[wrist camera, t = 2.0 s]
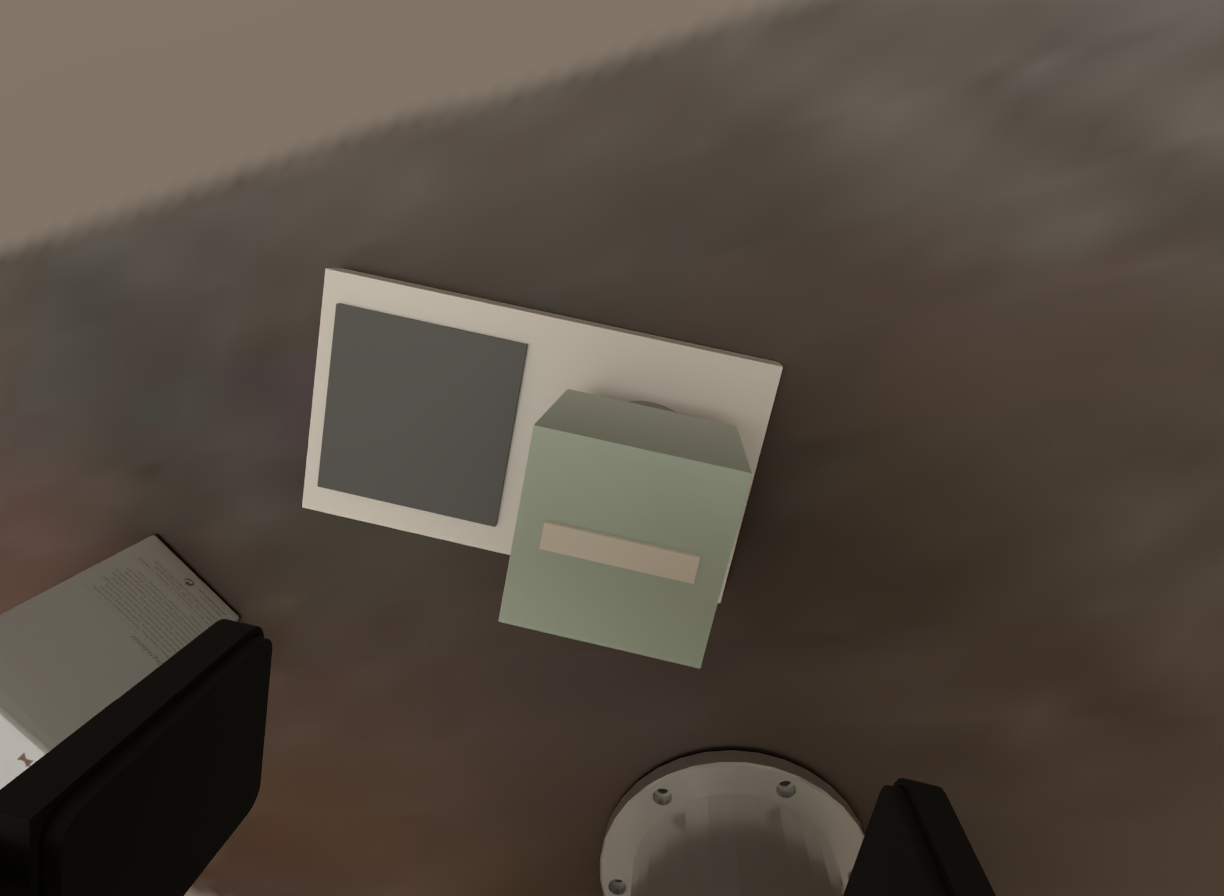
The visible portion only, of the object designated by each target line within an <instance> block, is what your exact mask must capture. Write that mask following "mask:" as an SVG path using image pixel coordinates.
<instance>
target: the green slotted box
mask: <svg viewBox="0 0 1224 896" xmlns="http://www.w3.org/2000/svg"><path fill="white" fill-rule="evenodd" d="M751 475H752V472H751V469H750V466H749V463H748V460H747V457H746V454H745V450H744V447H743V444H742V441H741V438H740V435H739V432H738V429H737V426H735V425H731V424H726V423H722V422H717V421H712V420H708V419H703V418H699V417H694V416H690V415H685V414H681V413H676V412H671V411H667V410H662V409H658V408H653V407H649V406H644V405H640V404H635V403H630V402H626V401H621V400H617V399H612V398H608V397H603V396H598V395H594V394H589V393H585V392H580V391H576V390H571V389H567V390H566V391H565V392H564V393H563V394H562V395H561V396H560V398H559V399H558V400H557V401H556V402H555V403H554V404H553V405H552V406H551V407H550V408H549V409H548V410H547V411H546V412H545V413H544V415H543V416H542V417H541V418H540V419H539V420H538V421H537V422H536V423H535V424H534V426H533V432H532V437H531V443H530V448H529V454H528V460H527V465H526V471H525V476H524V482H523V487H522V493H521V498H520V504H519V509H518V515H517V521H516V526H515V532H514V537H513V543H512V548H511V554H510V559H509V565H508V571H507V576H506V582H505V587H504V593H503V598H502V604H501V609H500V615H499V620H498V622H503V623H507V624H511V625H516V626H520V627H524V628H528V629H533V630H537V631H541V632H545V633H550V634H554V635H558V636H563V637H567V638H571V639H575V640H580V641H584V642H588V643H593V644H597V645H601V646H605V647H610V648H614V649H618V650H622V651H627V652H631V653H635V654H640V655H644V656H648V657H652V658H657V659H661V660H665V661H669V662H674V663H678V664H682V665H687V666H691V667H695V668H699V669H700V668H701V664H702V660H703V656H704V653H705V649H706V645H707V641H708V638H709V634H710V630H711V626H712V622H713V619H714V615H715V611H716V607H717V603H718V600H719V596H720V592H721V588H722V585H723V581H724V577H725V573H726V569H727V566H728V562H729V558H730V554H731V551H732V547H733V543H734V539H735V535H736V532H737V528H738V524H739V520H740V517H741V513H742V509H743V505H744V501H745V498H746V494H747V490H748V486H749V482H750V479H751Z"/></svg>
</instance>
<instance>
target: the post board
mask: <svg viewBox="0 0 1224 896" xmlns="http://www.w3.org/2000/svg"><path fill="white" fill-rule="evenodd" d="M782 369H783V366H782V365H781V364H780V363H779V362H776V361H772V360H767V359H762V358H758V357H753V356H748V355H744V354H739V353H734V352H730V351H725V350H720V349H716V348H711V347H707V346H702V345H697V344H693V343H688V342H683V341H679V340H674V339H669V338H665V337H660V336H655V335H651V334H646V333H641V332H637V331H632V330H627V329H623V328H618V327H614V326H609V325H604V324H600V323H595V322H590V321H586V320H581V319H576V318H572V317H567V316H562V315H558V314H553V313H548V312H544V311H539V310H534V309H530V308H525V307H520V306H516V305H511V304H507V303H502V302H497V301H493V300H488V299H483V298H479V297H474V296H469V295H465V294H460V293H455V292H451V291H446V290H441V289H437V288H432V287H427V286H423V285H418V284H414V283H409V282H404V281H400V280H395V279H390V278H386V277H381V276H376V275H372V274H367V273H362V272H358V271H353V270H348V269H344V268H328V269H326V270H325V280H324V290H323V301H322V311H321V321H320V331H319V341H318V351H317V361H316V371H315V382H314V392H313V402H312V412H311V422H310V432H309V442H308V452H307V462H306V473H305V483H304V493H303V503H302V507H303V508H308V509H312V510H316V511H321V512H325V513H329V514H334V515H338V516H342V517H347V518H351V519H355V520H360V521H364V522H369V523H373V524H377V525H382V526H386V527H390V528H395V529H399V530H403V531H408V532H412V533H416V534H421V535H425V536H429V537H434V538H438V539H442V540H447V541H451V542H456V543H460V544H464V545H469V546H473V547H477V548H482V549H486V550H490V551H495V552H499V553H503V554H508V555H510V554H511V548H512V543H513V537H514V532H515V526H516V521H517V515H518V509H519V504H520V498H521V493H522V487H523V482H524V476H525V471H526V465H527V460H528V454H529V448H530V443H531V437H532V432H533V426H534V424H535V423H536V422H537V421H538V420H539V419H540V418H541V417H542V416H543V415H544V413H545V412H546V411H547V410H548V409H549V408H550V407H551V406H552V405H553V404H554V403H555V402H556V401H557V400H558V399H559V398H560V396H561V395H562V394H563V393H564V392H565V391H566V390H567V389H571V390H576V391H580V392H585V393H589V394H594V395H598V396H603V397H608V398H612V399H617V400H621V401H626V402H630V403H635V404H640V405H644V406H649V407H653V408H658V409H662V410H667V411H671V412H676V413H681V414H685V415H690V416H694V417H699V418H703V419H708V420H712V421H717V422H722V423H726V424H731V425H735V426H737V429H738V432H739V435H740V438H741V441H742V444H743V447H744V450H745V454H746V457H747V460H748V463H749V466H750V469H751V472H752V475H751V479H750V482H749V486H748V490H747V494H746V498H745V501H744V505H743V509H742V513H741V517H740V520H739V524H738V528H737V532H736V535H735V539H734V543H733V547H732V551H731V554H730V558H729V562H728V566H727V569H726V573H725V577H724V581H723V585H722V588H721V592H720V596H719V600H718V603H721V599H722V595H723V591H724V587H725V584H726V580H727V576H728V572H729V569H730V565H731V561H732V557H733V554H734V550H735V546H736V542H737V538H738V535H739V531H740V527H741V523H742V520H743V516H744V512H745V508H746V505H747V501H748V497H749V493H750V489H751V486H752V482H753V478H754V474H755V471H756V467H757V463H758V459H759V456H760V452H761V448H762V444H763V441H764V437H765V433H766V429H767V425H768V422H769V418H770V414H771V410H772V407H773V403H774V399H775V395H776V392H777V388H778V384H779V380H780V376H781V373H782Z"/></svg>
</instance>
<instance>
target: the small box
mask: <svg viewBox="0 0 1224 896" xmlns="http://www.w3.org/2000/svg"><path fill="white" fill-rule="evenodd" d="M220 619H228V620H233V621H238V619H239V616H238V615H237V614H236V613H235V612H234V611H233V610H232V609H231V608H230V607H229V606H227V605H226V604H225V603H224V602H223V601H222V600H221V599H220V598H219V597H218V596H217V595H216V594H215V593H214V592H213V591H212V590H211V589H210V588H209V587H208V586H207V585H206V584H205V583H204V582H203V581H202V580H200V579H199V578H198V577H197V576H196V575H195V574H194V573H193V572H192V571H191V570H190V569H189V568H188V567H187V566H186V565H185V564H184V563H183V562H182V561H181V560H180V559H179V558H178V557H177V556H176V555H175V554H174V553H173V552H172V551H171V550H170V549H168V548H167V547H166V546H165V545H164V544H163V543H162V542H161V541H160V540H159V539H158V538H157V537H156V536H154V535H152V536H149V537H148V538H146V539H144V540H142V541H140V542H138V543H136V544H134V545H132V546H130V547H129V548H127V549H125V550H123V551H121V552H119V553H117V554H115V555H113V556H111V557H109V558H107V559H106V560H104V561H102V562H100V563H98V564H96V565H94V566H92V567H90V568H88V569H86V570H85V571H83V572H81V573H79V574H77V575H75V576H73V577H71V578H69V579H68V580H66V581H64V582H62V583H60V584H58V585H56V586H54V587H52V588H50V589H48V590H47V591H45V592H43V593H41V594H39V595H37V596H35V597H33V598H32V599H30V600H28V601H26V602H24V603H22V604H20V605H18V606H16V607H14V608H13V609H11V610H9V611H7V612H5V613H3V614H1V615H0V789H2V788H3V787H4V786H6V785H7V784H8V783H9V782H11V781H12V780H13V779H14V778H16V777H17V776H18V775H20V774H21V773H22V772H23V771H25V770H26V769H27V768H29V767H30V766H31V765H32V764H34V763H35V762H36V761H38V760H39V759H40V758H41V757H43V756H44V755H45V754H47V753H48V752H49V751H50V750H52V749H53V748H54V747H56V746H57V745H58V744H59V743H61V742H62V741H63V740H64V739H66V738H67V737H68V736H70V735H71V734H72V733H73V732H75V731H76V730H77V729H79V728H80V727H81V726H82V725H84V724H85V723H86V722H88V721H89V720H90V719H91V718H93V717H94V716H95V715H97V714H98V713H99V712H100V711H102V710H103V709H104V708H106V707H107V706H108V705H109V704H111V703H112V702H113V701H115V700H116V699H118V698H119V697H121V696H122V695H123V694H124V693H126V692H127V691H128V690H130V689H131V688H132V687H133V686H135V685H136V684H137V683H138V682H140V681H141V680H142V679H144V678H145V677H146V676H147V675H149V674H150V673H151V672H153V671H154V670H155V669H156V668H158V667H159V666H160V665H162V664H163V663H164V662H165V661H167V660H168V659H169V658H170V657H172V656H173V655H174V654H176V653H177V652H178V651H179V650H181V649H182V648H183V647H185V646H186V645H187V644H188V643H190V642H191V641H192V640H194V639H195V638H196V637H197V636H199V635H200V634H201V633H202V632H204V631H205V630H206V629H208V628H209V627H210V626H211V625H213V624H214V623H215V622H217V621H219V620H220Z"/></svg>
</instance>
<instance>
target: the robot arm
mask: <svg viewBox="0 0 1224 896" xmlns="http://www.w3.org/2000/svg"><path fill="white" fill-rule="evenodd" d="M271 656H272V643H271V641H270V640H269V639H265V638H264V634H263V631H262V629H261V628H260V627H258V626H254V625H250V624H245V623H241V622H237V621H233V620H228V619H220V620H219V621H217V622H215V623H214V624H213V625H211V626H210V627H209V628H208V629H206V630H205V631H204V632H202V633H201V634H200V635H199V636H197V637H196V638H195V639H194V640H192V641H191V642H190V643H188V644H187V645H186V646H185V647H183V648H182V649H181V650H179V651H178V652H177V653H176V654H174V655H173V656H172V657H170V658H169V659H168V660H167V661H165V662H164V663H163V664H162V665H160V666H159V667H158V668H156V669H155V670H154V671H153V672H151V673H150V674H149V675H147V676H146V677H145V678H144V679H142V680H141V681H140V682H138V683H137V684H136V685H135V686H133V687H132V688H131V689H130V690H128V691H127V692H126V693H124V694H123V695H122V696H121V697H119V698H118V699H116V700H115V701H113V702H112V703H111V704H109V705H108V706H107V707H106V708H104V709H103V710H102V711H100V712H99V713H98V714H97V715H95V716H94V717H93V718H91V719H90V720H89V721H88V722H86V723H85V724H84V725H82V726H81V727H80V728H79V729H77V730H76V731H75V732H73V733H72V734H71V735H70V736H68V737H67V738H66V739H64V740H63V741H62V742H61V743H59V744H58V745H57V746H56V747H54V748H53V749H52V750H50V751H49V752H48V753H47V754H45V755H44V756H43V757H41V758H40V759H39V760H38V761H36V762H35V763H34V764H32V765H31V766H30V767H29V768H27V769H26V770H25V771H23V772H22V773H21V774H20V775H18V776H17V777H16V778H14V779H13V780H12V781H11V782H9V783H8V784H7V785H6V786H4V787H3V788H2V789H0V896H184V895H185V893H186V892H187V891H188V889H189V888H190V887H191V886H192V884H193V883H194V882H195V880H196V879H197V878H198V877H199V875H200V874H201V873H202V871H203V870H204V869H205V868H206V866H207V865H208V864H209V863H210V861H211V860H212V859H213V857H214V856H215V855H216V854H217V852H218V851H219V850H220V848H221V847H222V846H223V845H224V843H225V842H226V841H227V840H228V838H229V837H230V836H231V834H232V833H233V832H234V831H235V829H236V828H237V827H238V825H239V824H240V823H241V822H242V820H243V819H244V818H245V816H246V815H247V814H248V813H249V811H250V810H251V808H252V806H253V804H254V802H255V800H256V798H257V795H258V792H259V788H260V782H261V770H262V759H263V747H264V736H265V725H266V713H267V702H268V690H269V679H270V667H271ZM600 882H601V886H602V890H603V895H604V896H996V895H995V893H994V891H993V889H992V887H991V885H990V883H989V881H988V879H987V877H986V875H985V873H984V871H983V869H982V867H981V865H980V863H979V861H978V859H977V857H976V855H975V852H974V850H973V848H972V846H971V844H970V842H969V840H968V838H967V836H966V834H965V832H964V830H963V828H962V826H961V824H960V822H959V820H958V818H957V816H956V814H955V812H954V810H953V808H952V806H951V803H950V801H949V799H948V797H947V795H946V793H945V792H944V791H943V789H942V788H940V787H938V786H934V785H930V784H926V783H922V782H917V781H913V780H909V779H905V778H900V779H898V780H897V781H896V782H895V784H894V786H889V785H885V786H884V787H883V788H882V790H881V792H880V794H879V797H878V800H877V802H876V805H875V808H874V811H873V813H872V816H871V819H870V822H869V825H868V827H867V830H866V833H865V834H864V831H863V828H862V826H861V823H860V821H859V820H858V818H857V817H856V815H855V814H854V812H853V811H852V809H851V808H850V806H849V805H848V803H847V802H846V801H845V800H844V799H843V798H842V797H841V796H840V795H839V794H838V793H837V792H836V791H835V790H834V789H833V788H832V787H831V786H830V785H829V784H827V783H826V782H825V781H823V780H822V779H820V778H819V777H817V776H816V775H814V774H813V773H811V772H810V771H808V770H806V769H804V768H802V767H800V766H798V765H795V764H793V763H791V762H789V761H787V760H784V759H780V758H777V757H773V756H769V755H765V754H762V753H756V752H746V751H736V750H727V751H712V752H703V753H699V754H695V755H691V756H687V757H682V758H679V759H677V760H675V761H672V762H670V763H668V764H665V765H663V766H661V767H659V768H657V769H655V770H654V771H652V772H651V773H649V774H648V775H647V776H645V777H644V778H642V779H641V780H639V781H638V782H637V783H636V784H635V785H634V786H633V787H632V788H631V789H630V790H629V791H628V792H627V793H626V794H625V795H624V796H623V797H622V799H621V800H620V802H619V803H618V805H617V807H616V808H615V810H614V811H613V813H612V815H611V816H610V819H609V822H608V825H607V828H606V831H605V834H604V837H603V844H602V851H601V857H600Z"/></svg>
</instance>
